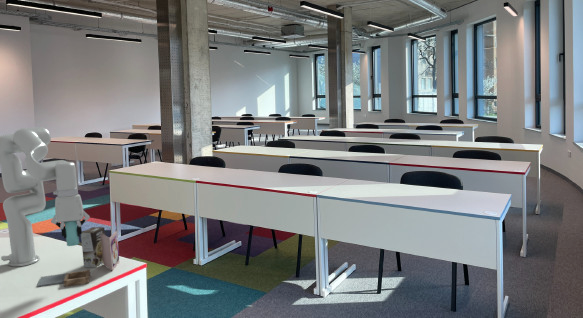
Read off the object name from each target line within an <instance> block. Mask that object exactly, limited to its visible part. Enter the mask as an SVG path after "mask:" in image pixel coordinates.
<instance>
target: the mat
mask: <svg viewBox="0 0 583 318" xmlns="http://www.w3.org/2000/svg"><path fill="white" fill-rule="evenodd" d="M66 273H67V272H66ZM66 273H58V274H51V275H46V276H45V275H44V276H40V278H39V281H38V283H37V286H36V287H37V288H41V287H47V286H54V285H60V284H64V279H65V276H66Z"/></svg>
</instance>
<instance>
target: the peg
mask: <svg viewBox="0 0 583 318" xmlns="http://www.w3.org/2000/svg"><path fill="white" fill-rule="evenodd" d="M64 226H65V231H66V238H65V241H66V246H68V247H74V246H77V245H80V238H79V237H78V233H77V227H78V224H77V222H76V221H69V222H65V224H64Z"/></svg>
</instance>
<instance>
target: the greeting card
mask: <svg viewBox="0 0 583 318" xmlns="http://www.w3.org/2000/svg"><path fill="white" fill-rule="evenodd" d="M100 234H101V245H102V255H103V264H104V265H103V264H102V265H103V266H105V267H106V266H107V267H108V268H107V267H106V268H107V269H108V270H110V271H111V270H112V272H114V270H115V269H116V268H117V266H118V265H119V263H120V252H119V251H120V250H119V241H118V232H117V230H115V231H114V232H113V234H112V235H110V237H109V236H107V235H106V234H105V235H104V234H102V233H100ZM117 264H118V265H117ZM114 268H115V269H114Z"/></svg>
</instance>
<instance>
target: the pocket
mask: <svg viewBox="0 0 583 318" xmlns="http://www.w3.org/2000/svg"><path fill="white" fill-rule="evenodd" d="M90 278H91V271H90V269H85V270H80V271H73V272H72V271H71V272H66V276H65V279H64V283H63V287H64V288H67V287H74V286H78V285H79V286H80V285H85V284H89V283H90Z"/></svg>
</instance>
